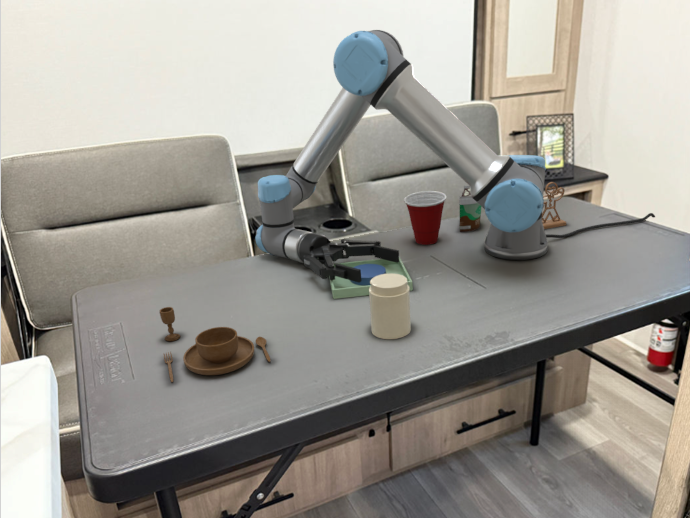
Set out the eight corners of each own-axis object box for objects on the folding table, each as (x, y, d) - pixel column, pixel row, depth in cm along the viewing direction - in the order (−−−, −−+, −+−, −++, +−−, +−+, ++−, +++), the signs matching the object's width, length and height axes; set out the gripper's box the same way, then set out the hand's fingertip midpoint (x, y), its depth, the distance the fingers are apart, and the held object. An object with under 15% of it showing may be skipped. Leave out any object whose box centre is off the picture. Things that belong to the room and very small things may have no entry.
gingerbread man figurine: (538, 230, 162) (541, 186, 156) (530, 226, 165) (533, 182, 160) (566, 225, 164) (570, 181, 159) (558, 221, 168) (561, 178, 163)
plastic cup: (396, 242, 157) (394, 197, 152) (423, 231, 164) (422, 188, 159) (428, 251, 150) (427, 204, 145) (455, 240, 157) (455, 194, 152)
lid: (342, 281, 133) (341, 273, 132) (362, 269, 139) (362, 261, 139) (373, 288, 129) (372, 280, 128) (392, 275, 136) (392, 267, 135)
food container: (482, 234, 160) (483, 197, 156) (459, 233, 161) (459, 197, 157) (485, 220, 171) (486, 185, 167) (463, 219, 172) (464, 185, 168)
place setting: (169, 390, 97) (161, 358, 95) (161, 337, 114) (154, 309, 111) (276, 364, 103) (272, 334, 101) (253, 317, 120) (249, 290, 117)
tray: (400, 265, 142) (399, 256, 141) (412, 290, 129) (412, 281, 128) (328, 272, 140) (327, 264, 139) (333, 299, 126) (332, 290, 126)
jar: (406, 318, 117) (405, 270, 113) (414, 336, 110) (413, 286, 106) (369, 323, 116) (365, 274, 112) (374, 341, 109) (371, 290, 105)
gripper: (344, 247, 153) (413, 264, 141) (271, 280, 135) (343, 302, 124) (342, 219, 150) (412, 233, 138) (267, 248, 132) (340, 268, 120)
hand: (379, 266), depth 131 cm, fingers open, 12 cm apart
